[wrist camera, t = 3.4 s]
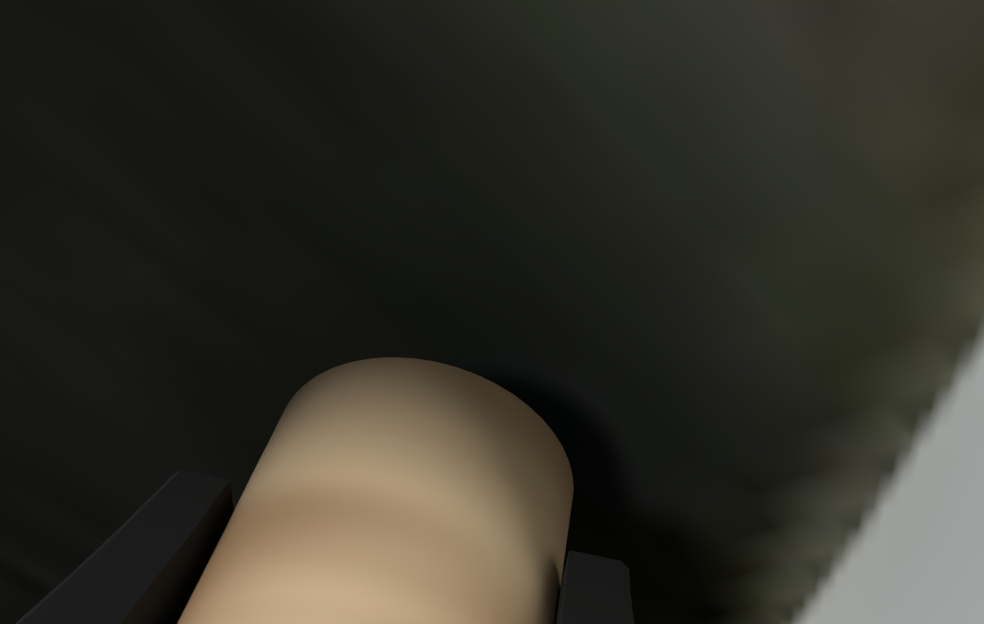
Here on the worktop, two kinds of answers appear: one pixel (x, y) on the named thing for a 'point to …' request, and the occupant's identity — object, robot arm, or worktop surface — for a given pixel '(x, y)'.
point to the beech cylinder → (396, 507)
